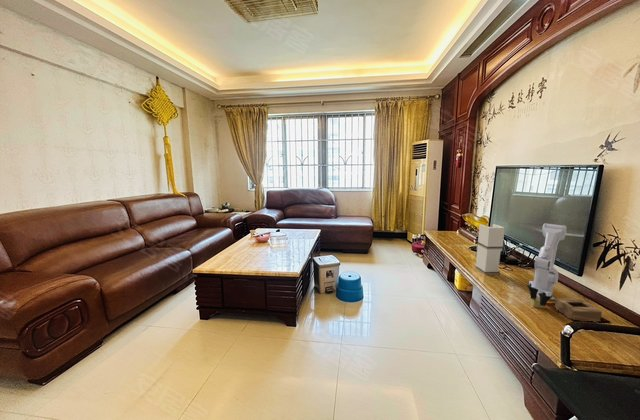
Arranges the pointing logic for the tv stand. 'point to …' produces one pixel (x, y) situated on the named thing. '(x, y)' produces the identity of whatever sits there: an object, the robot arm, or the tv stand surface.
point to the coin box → (577, 309)
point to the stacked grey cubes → (489, 249)
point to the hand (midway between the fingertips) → (537, 301)
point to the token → (536, 302)
